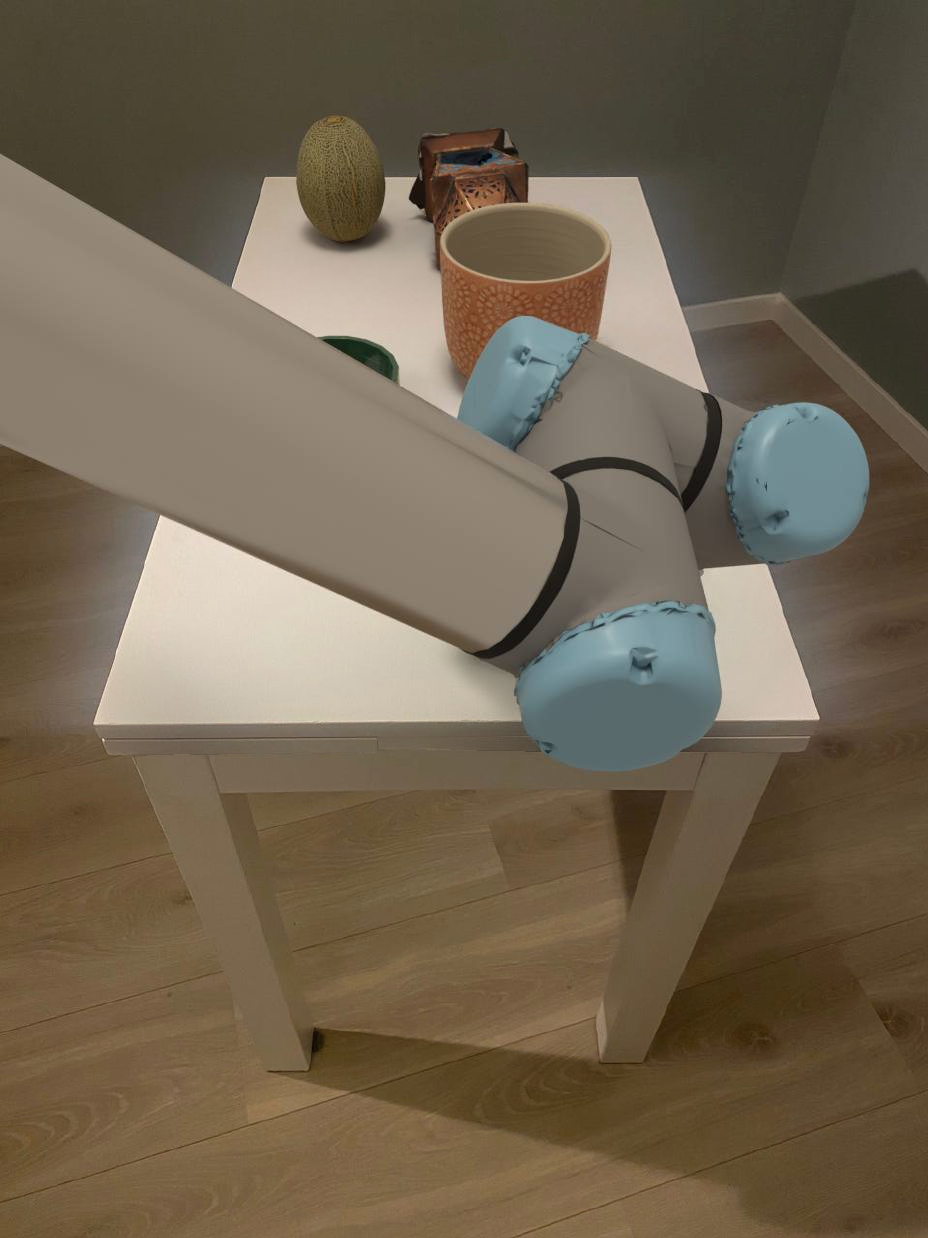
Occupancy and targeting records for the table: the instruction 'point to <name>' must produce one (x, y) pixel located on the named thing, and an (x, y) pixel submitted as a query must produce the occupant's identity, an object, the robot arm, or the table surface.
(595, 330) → the planter
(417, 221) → the table surface
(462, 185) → the lantern
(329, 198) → the fruit
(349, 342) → the green bowl
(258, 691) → the table surface
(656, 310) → the table surface
